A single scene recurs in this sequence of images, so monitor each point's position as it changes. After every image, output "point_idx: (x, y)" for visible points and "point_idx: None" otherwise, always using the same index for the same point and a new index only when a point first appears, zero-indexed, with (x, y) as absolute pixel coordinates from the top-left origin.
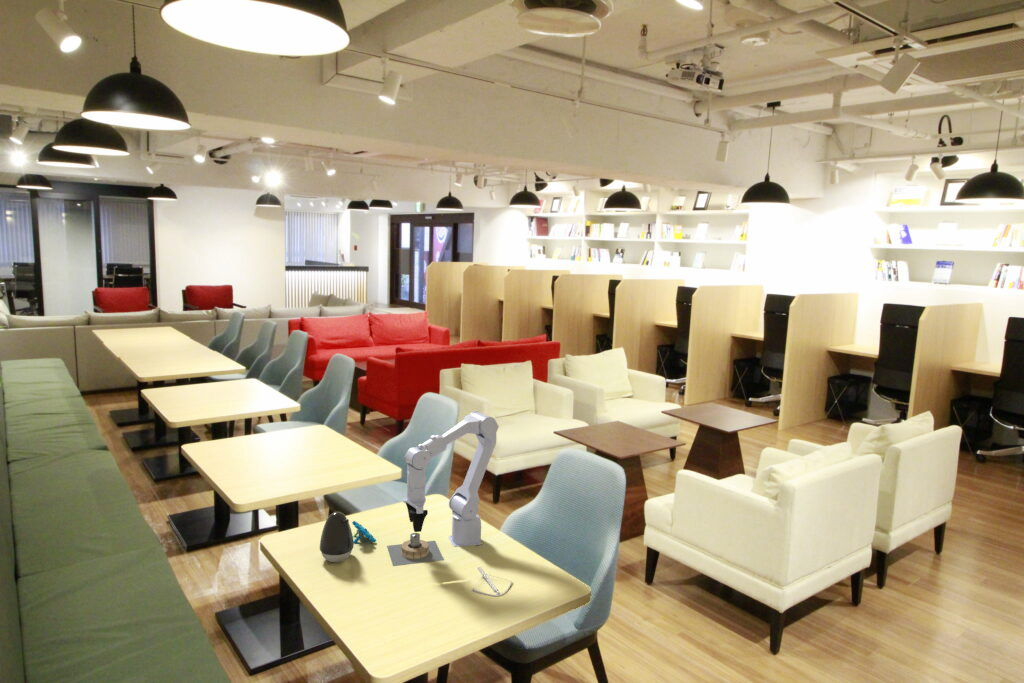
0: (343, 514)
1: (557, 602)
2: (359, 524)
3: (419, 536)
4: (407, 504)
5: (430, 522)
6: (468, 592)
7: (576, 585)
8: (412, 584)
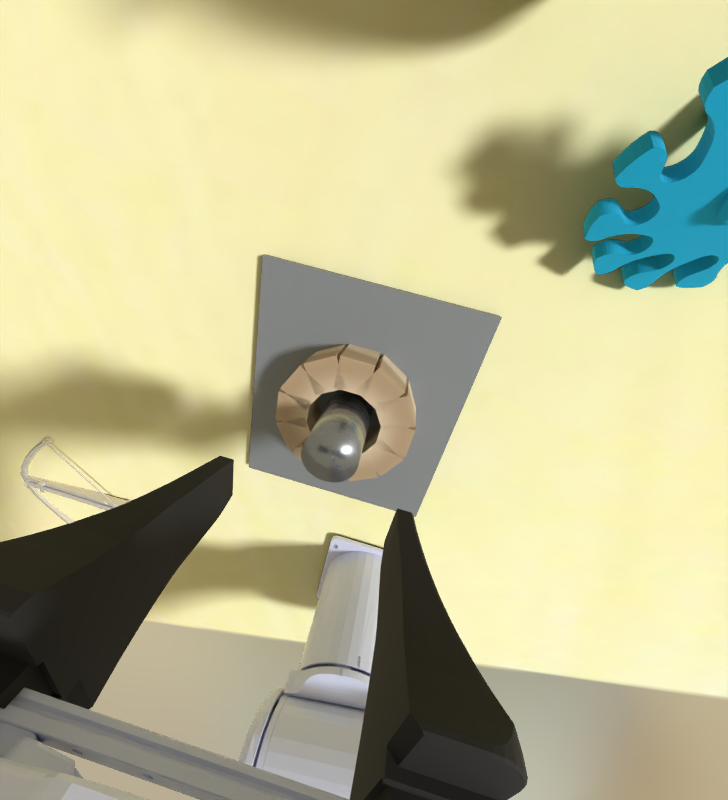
0: None
1: None
2: None
3: (312, 469)
4: (402, 687)
5: (598, 581)
6: (42, 424)
7: None
8: (100, 277)
